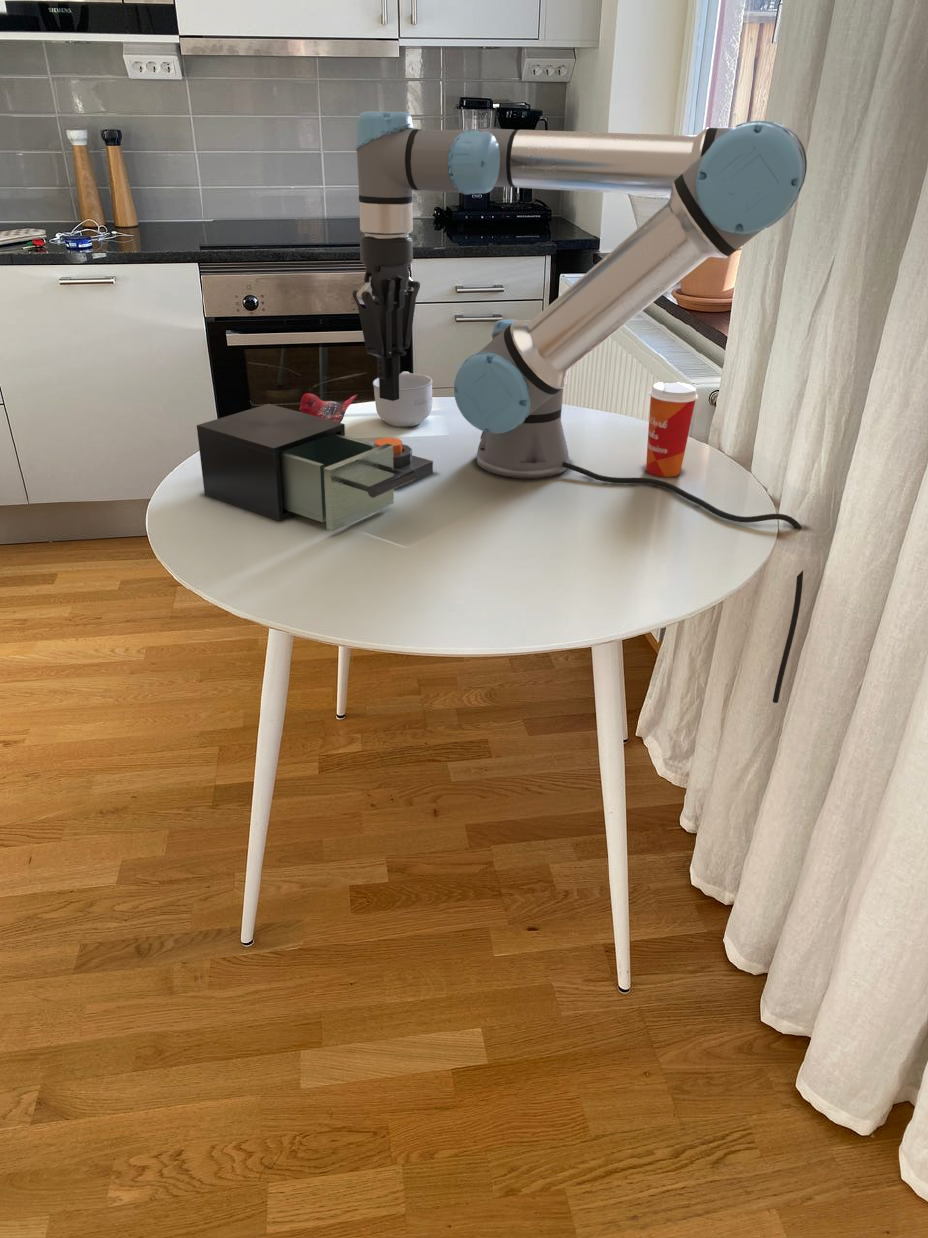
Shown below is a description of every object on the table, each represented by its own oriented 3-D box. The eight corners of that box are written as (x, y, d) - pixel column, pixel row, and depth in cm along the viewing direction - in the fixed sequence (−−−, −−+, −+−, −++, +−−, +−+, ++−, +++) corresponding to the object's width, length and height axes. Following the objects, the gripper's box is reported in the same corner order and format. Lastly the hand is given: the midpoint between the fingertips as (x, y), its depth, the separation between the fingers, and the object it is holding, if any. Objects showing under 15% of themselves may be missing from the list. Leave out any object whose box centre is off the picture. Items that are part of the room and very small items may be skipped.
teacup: (424, 433, 169) (424, 389, 165) (366, 428, 170) (365, 384, 167) (441, 411, 181) (442, 370, 177) (387, 406, 182) (386, 365, 179)
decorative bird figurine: (295, 454, 157) (291, 395, 152) (351, 426, 171) (349, 371, 166) (309, 457, 156) (306, 398, 151) (365, 428, 170) (363, 373, 165)
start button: (408, 451, 149) (407, 441, 148) (390, 458, 146) (390, 448, 145) (386, 445, 151) (386, 435, 150) (368, 452, 148) (368, 442, 147)
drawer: (426, 513, 134) (426, 454, 130) (366, 543, 125) (364, 480, 120) (320, 480, 144) (318, 424, 140) (257, 505, 135) (252, 446, 131)
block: (432, 473, 151) (433, 449, 149) (397, 489, 144) (397, 464, 142) (380, 458, 156) (380, 435, 154) (344, 473, 150) (343, 449, 148)
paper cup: (634, 463, 158) (644, 380, 151) (679, 462, 159) (690, 380, 152) (646, 479, 151) (657, 393, 144) (692, 479, 152) (705, 393, 145)
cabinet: (347, 492, 143) (344, 423, 138) (279, 521, 133) (273, 448, 127) (273, 469, 151) (268, 403, 145) (204, 495, 140) (196, 424, 135)
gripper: (394, 228, 140) (397, 385, 151) (335, 236, 130) (342, 403, 142) (434, 232, 136) (434, 393, 147) (376, 241, 126) (380, 412, 138)
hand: (389, 398), depth 144 cm, fingers closed
